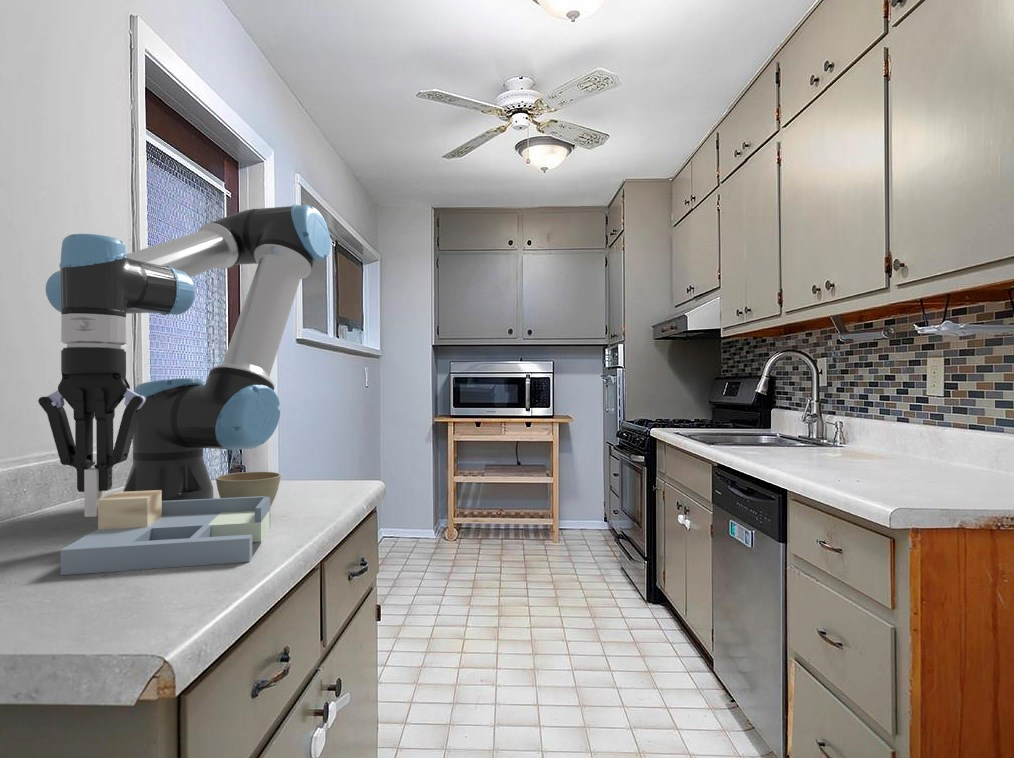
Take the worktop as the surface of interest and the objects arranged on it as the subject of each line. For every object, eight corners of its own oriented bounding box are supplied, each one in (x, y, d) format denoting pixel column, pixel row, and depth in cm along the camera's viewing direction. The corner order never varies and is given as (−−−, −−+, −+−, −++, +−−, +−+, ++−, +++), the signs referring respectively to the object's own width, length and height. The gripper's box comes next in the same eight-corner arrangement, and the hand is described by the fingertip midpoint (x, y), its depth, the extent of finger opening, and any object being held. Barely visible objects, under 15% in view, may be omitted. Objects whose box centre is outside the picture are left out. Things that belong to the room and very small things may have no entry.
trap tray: (120, 536, 88) (119, 502, 88) (270, 527, 93) (270, 495, 93) (60, 575, 71) (60, 533, 71) (249, 561, 76) (249, 522, 76)
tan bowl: (257, 526, 94) (257, 481, 94) (202, 523, 96) (202, 479, 96) (292, 512, 104) (292, 471, 104) (241, 510, 106) (241, 470, 106)
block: (116, 519, 86) (115, 492, 86) (161, 517, 88) (161, 490, 88) (98, 529, 81) (98, 500, 81) (147, 526, 82) (147, 497, 82)
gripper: (25, 344, 78) (26, 523, 78) (135, 345, 81) (136, 517, 81) (55, 347, 86) (55, 511, 86) (155, 348, 89) (155, 506, 89)
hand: (94, 514), depth 84 cm, fingers closed
